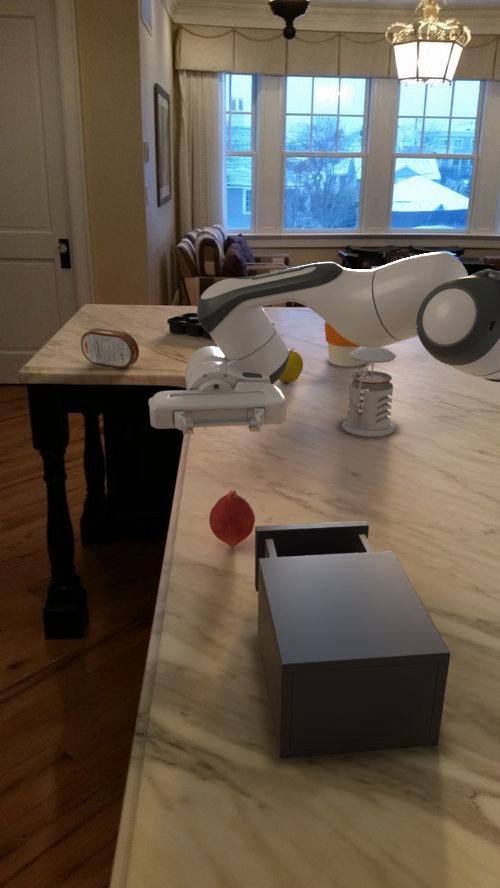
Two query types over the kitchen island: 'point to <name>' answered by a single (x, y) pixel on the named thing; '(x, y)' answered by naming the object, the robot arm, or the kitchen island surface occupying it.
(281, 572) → the dark drawer box
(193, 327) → the egg carton
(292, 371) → the apple
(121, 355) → the tin
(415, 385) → the kitchen island surface
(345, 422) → the french press
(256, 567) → the dark grey open drawer
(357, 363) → the reusable coffee cup
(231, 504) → the onion
